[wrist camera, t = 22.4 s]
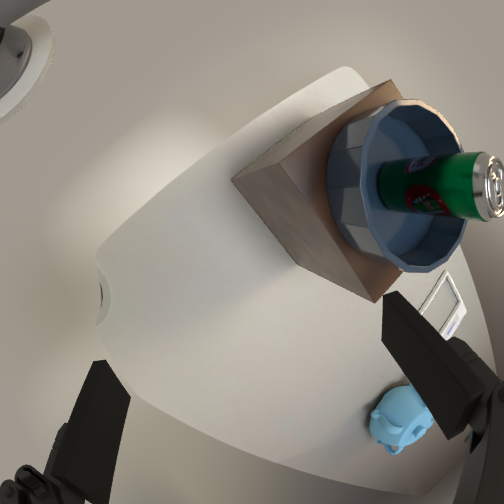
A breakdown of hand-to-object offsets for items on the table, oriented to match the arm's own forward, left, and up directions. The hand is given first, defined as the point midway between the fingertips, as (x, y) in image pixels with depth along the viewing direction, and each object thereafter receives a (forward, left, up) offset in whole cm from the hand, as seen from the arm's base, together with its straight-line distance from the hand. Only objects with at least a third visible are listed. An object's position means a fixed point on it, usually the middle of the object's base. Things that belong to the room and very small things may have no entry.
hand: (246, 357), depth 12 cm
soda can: (+4, +19, -11) cm, 22 cm away
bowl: (+4, +19, -11) cm, 23 cm away
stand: (+4, +19, -31) cm, 37 cm away
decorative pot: (+60, +8, -32) cm, 69 cm away
